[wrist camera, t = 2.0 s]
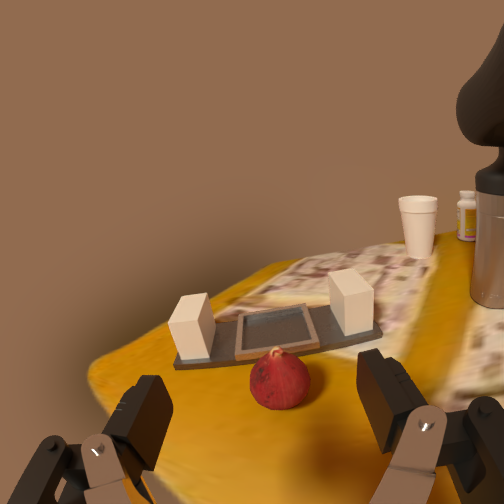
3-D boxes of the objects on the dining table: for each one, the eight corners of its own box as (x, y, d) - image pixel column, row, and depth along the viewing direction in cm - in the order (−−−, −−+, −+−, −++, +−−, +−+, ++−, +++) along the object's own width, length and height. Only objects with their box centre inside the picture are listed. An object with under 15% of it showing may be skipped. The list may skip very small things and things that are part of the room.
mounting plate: (357, 303, 42) (357, 292, 42) (382, 338, 32) (383, 326, 32) (189, 330, 44) (186, 320, 43) (174, 371, 34) (170, 360, 33)
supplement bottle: (481, 238, 55) (482, 191, 51) (470, 243, 53) (470, 194, 50) (464, 233, 61) (464, 189, 57) (452, 238, 60) (452, 191, 56)
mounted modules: (353, 302, 41) (352, 267, 39) (372, 329, 33) (373, 289, 31) (192, 328, 42) (182, 295, 41) (181, 359, 35) (167, 323, 33)
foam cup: (398, 249, 61) (395, 196, 58) (431, 246, 58) (430, 194, 54) (405, 262, 53) (403, 203, 49) (442, 260, 50) (442, 201, 46)
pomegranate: (271, 434, 22) (258, 379, 20) (247, 400, 27) (232, 345, 25) (322, 408, 24) (319, 349, 22) (293, 379, 29) (285, 323, 27)
